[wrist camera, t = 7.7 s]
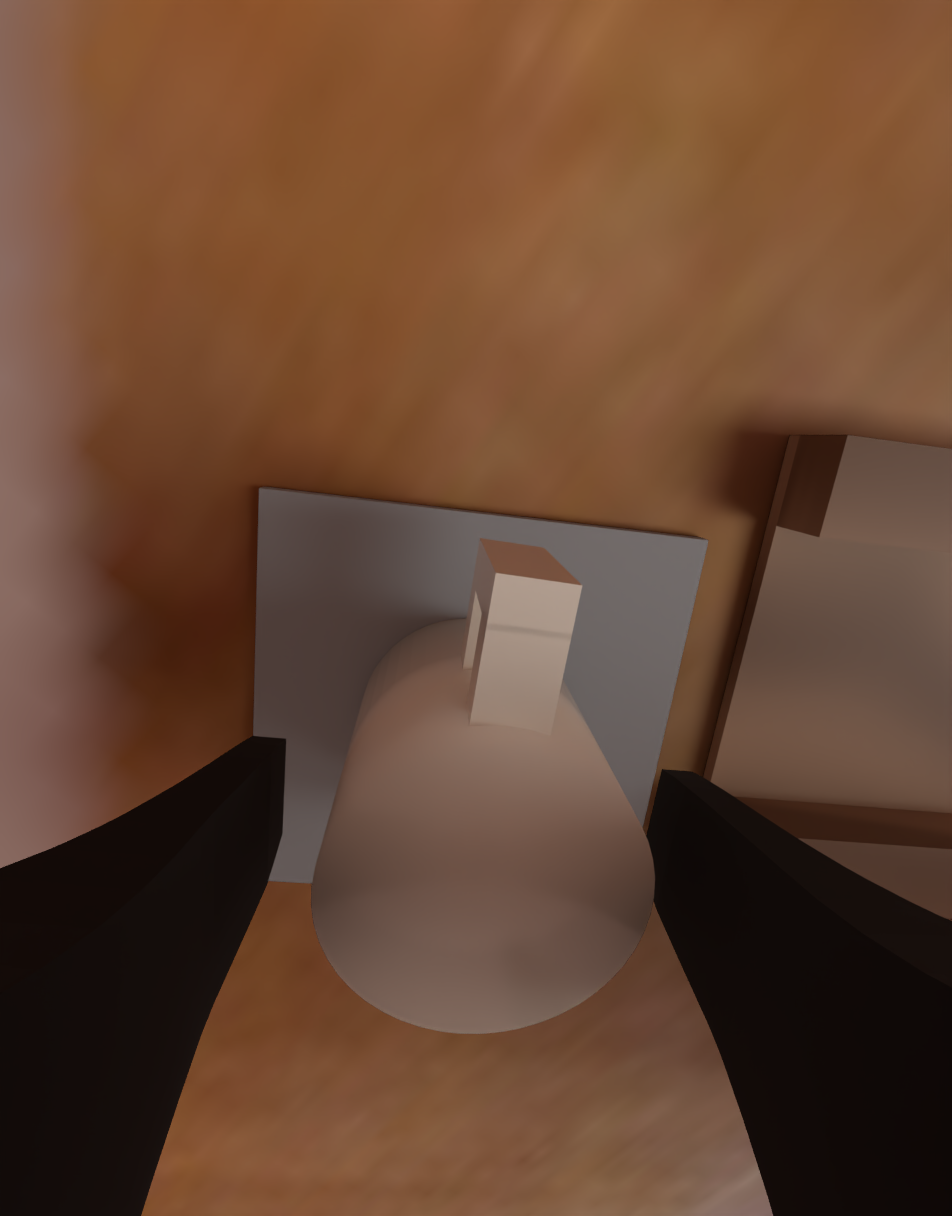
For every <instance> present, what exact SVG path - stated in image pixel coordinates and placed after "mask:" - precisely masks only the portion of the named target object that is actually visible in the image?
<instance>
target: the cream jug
mask: <svg viewBox="0 0 952 1216" xmlns="http://www.w3.org/2000/svg"><path fill="white" fill-rule="evenodd" d="M581 590H582V585H581V584H580V583H579V582H578V581H577V580H576V579H575V578H574V577H573V576H572V575H571V574H570V573H569V572H568V571H567V570H566V569H565V568H564V567H563V566H562V565H561V564H560V563H559V562H558V561H557V560H556V559H555V558H554V557H553V556H552V555H551V554H550V553H549V552H548V551H547V550H546V549H545V548H543V547H536V546H530V545H523V544H517V543H510V542H503V541H497V540H490V539H484V538H480V540H479V546H478V552H477V558H476V564H475V571H474V577H473V583H472V589H471V595H470V601H469V607H468V613H467V618H464V619H452V620H446V621H441V622H437V623H434V624H431V625H428V626H425V627H423V628H421V629H419V630H417V631H414V632H413V633H411V634H410V635H408V636H406V637H405V638H403V639H402V640H401V641H399V642H398V643H397V644H396V645H394V646H393V647H392V648H391V649H390V650H389V651H388V652H387V653H386V654H385V656H384V657H383V658H382V659H381V660H380V662H379V663H378V665H377V666H376V668H375V669H374V671H373V673H372V675H371V677H370V679H369V681H368V684H367V687H366V690H365V692H364V696H363V699H362V703H361V706H360V710H359V714H358V717H357V721H356V724H355V728H354V731H353V735H352V738H351V742H350V745H349V749H348V752H347V756H346V759H345V763H344V766H343V770H342V774H341V777H340V781H339V784H338V788H337V791H336V795H335V798H334V802H333V805H332V809H331V812H330V816H329V819H328V823H327V826H326V830H325V833H324V837H323V841H322V844H321V848H320V851H319V855H318V858H317V862H316V865H315V870H314V875H313V881H312V888H311V908H312V916H313V923H314V927H315V930H316V934H317V937H318V940H319V943H320V945H321V947H322V949H323V951H324V953H325V955H326V957H327V959H328V961H329V962H330V964H331V965H332V967H333V968H334V970H335V971H336V973H337V974H338V975H339V976H340V977H341V979H342V980H343V981H344V982H345V983H346V984H347V985H348V986H349V987H350V988H351V989H352V990H353V991H354V992H355V993H357V994H358V995H359V996H360V997H361V998H363V999H364V1000H365V1001H366V1002H368V1003H369V1004H371V1005H373V1006H374V1007H376V1008H377V1009H379V1010H380V1011H382V1012H384V1013H386V1014H388V1015H390V1016H392V1017H395V1018H397V1019H399V1020H401V1021H404V1022H407V1023H410V1024H413V1025H416V1026H419V1027H423V1028H427V1029H432V1030H436V1031H442V1032H450V1033H459V1034H484V1033H496V1032H504V1031H509V1030H514V1029H519V1028H524V1027H527V1026H530V1025H534V1024H537V1023H540V1022H543V1021H546V1020H548V1019H550V1018H553V1017H555V1016H558V1015H560V1014H562V1013H564V1012H566V1011H568V1010H570V1009H571V1008H573V1007H575V1006H577V1005H579V1004H580V1003H582V1002H583V1001H585V1000H586V999H588V998H589V997H590V996H592V995H593V994H595V993H596V992H597V991H598V990H600V989H601V988H602V987H603V986H604V985H605V984H606V983H608V982H609V981H610V980H611V979H612V978H613V977H614V976H615V975H616V973H617V972H618V971H619V970H620V969H621V968H622V967H623V966H624V964H625V963H626V962H627V960H628V959H629V957H630V956H631V955H632V953H633V952H634V950H635V949H636V947H637V945H638V943H639V941H640V939H641V937H642V935H643V933H644V931H645V928H646V926H647V923H648V920H649V917H650V914H651V909H652V904H653V900H654V889H655V873H654V863H653V857H652V853H651V850H650V846H649V842H648V840H647V837H646V835H645V833H644V831H643V828H642V826H641V824H640V822H639V820H638V818H637V816H636V814H635V813H634V811H633V809H632V807H631V805H630V803H629V801H628V800H627V798H626V796H625V794H624V792H623V790H622V788H621V786H620V785H619V783H618V781H617V779H616V777H615V775H614V773H613V772H612V770H611V768H610V766H609V764H608V762H607V760H606V758H605V757H604V755H603V753H602V751H601V749H600V747H599V745H598V743H597V742H596V740H595V738H594V736H593V734H592V732H591V730H590V729H589V727H588V725H587V723H586V721H585V719H584V717H583V715H582V714H581V712H580V710H579V708H578V706H577V704H576V702H575V701H574V699H573V697H572V695H571V693H570V691H569V689H568V687H567V686H566V684H565V682H564V680H563V674H564V670H565V665H566V660H567V656H568V651H569V646H570V642H571V637H572V632H573V627H574V623H575V618H576V613H577V609H578V604H579V599H580V594H581Z"/></svg>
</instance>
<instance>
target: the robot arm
mask: <svg viewBox="0 0 952 1216" xmlns="http://www.w3.org/2000/svg"><path fill="white" fill-rule="evenodd" d="M285 761H286V739H284V738H272V737H260V736H252V737H250V738H248V739H247V740H245V741H243V742H242V743H240V744H239V745H237V746H235V747H234V748H232V749H231V750H229V751H228V752H226V753H225V754H223V755H222V756H220V757H219V758H217V759H216V760H214V761H213V762H211V763H209V764H208V765H206V766H205V767H203V768H202V769H200V770H198V771H197V772H195V773H194V774H192V775H191V776H189V777H187V778H186V779H184V780H183V781H181V782H180V783H178V784H176V785H175V786H173V787H171V788H169V789H168V790H166V791H164V792H162V793H161V794H159V795H157V796H155V797H154V798H152V799H150V800H148V801H147V802H145V803H143V804H141V805H139V806H138V807H136V808H134V809H132V810H131V811H129V812H127V813H125V814H123V815H121V816H119V817H118V818H116V819H114V820H112V821H110V822H108V823H106V824H104V825H102V826H100V827H98V828H95V829H93V830H91V831H89V832H87V833H85V834H82V835H80V836H78V837H76V838H74V839H72V840H69V841H67V842H65V843H63V844H61V845H58V846H56V847H54V848H51V849H49V850H46V851H44V852H41V853H38V854H36V855H33V856H31V857H28V858H26V859H23V860H20V861H18V862H15V863H13V864H10V865H8V866H5V867H2V868H0V1216H141V1214H142V1211H143V1208H144V1205H145V1201H146V1198H147V1195H148V1192H149V1189H150V1186H151V1182H152V1179H153V1176H154V1173H155V1170H156V1167H157V1164H158V1161H159V1158H160V1155H161V1152H162V1149H163V1146H164V1143H165V1140H166V1137H167V1134H168V1131H169V1128H170V1125H171V1122H172V1119H173V1116H174V1113H175V1110H176V1107H177V1104H178V1101H179V1098H180V1095H181V1092H182V1089H183V1086H184V1083H185V1080H186V1077H187V1074H188V1072H189V1069H190V1066H191V1063H192V1060H193V1057H194V1054H195V1051H196V1048H197V1045H198V1043H199V1040H200V1037H201V1034H202V1031H203V1029H204V1026H205V1024H206V1021H207V1019H208V1017H209V1014H210V1012H211V1009H212V1007H213V1004H214V1002H215V1000H216V997H217V995H218V993H219V991H220V989H221V986H222V984H223V982H224V980H225V977H226V975H227V973H228V971H229V969H230V966H231V964H232V962H233V960H234V957H235V955H236V953H237V951H238V949H239V946H240V944H241V942H242V940H243V938H244V935H245V933H246V931H247V929H248V926H249V924H250V922H251V920H252V917H253V915H254V913H255V911H256V908H257V906H258V904H259V902H260V899H261V897H262V895H263V893H264V890H265V888H266V886H267V883H268V880H269V877H270V874H271V870H272V867H273V864H274V861H275V858H276V854H277V851H278V847H279V844H280V841H281V837H282V834H283V810H284V786H285ZM646 837H647V840H648V842H649V846H650V850H651V853H652V857H653V863H654V873H655V889H654V903H655V906H656V909H657V911H658V914H659V916H660V918H661V921H662V923H663V925H664V927H665V930H666V932H667V934H668V936H669V939H670V941H671V943H672V945H673V948H674V950H675V952H676V954H677V957H678V959H679V961H680V963H681V965H682V967H683V970H684V972H685V974H686V976H687V978H688V981H689V983H690V985H691V987H692V989H693V992H694V994H695V996H696V998H697V1000H698V1003H699V1005H700V1007H701V1009H702V1011H703V1014H704V1016H705V1018H706V1020H707V1022H708V1025H709V1027H710V1029H711V1032H712V1034H713V1037H714V1039H715V1042H716V1044H717V1047H718V1049H719V1052H720V1054H721V1057H722V1060H723V1062H724V1065H725V1068H726V1071H727V1074H728V1077H729V1080H730V1083H731V1086H732V1088H733V1091H734V1094H735V1097H736V1100H737V1103H738V1106H739V1109H740V1112H741V1114H742V1117H743V1120H744V1123H745V1127H746V1130H747V1133H748V1136H749V1139H750V1142H751V1145H752V1148H753V1152H754V1155H755V1158H756V1161H757V1164H758V1167H759V1170H760V1174H761V1177H762V1180H763V1183H764V1186H765V1189H766V1192H767V1195H768V1199H769V1202H770V1206H771V1209H772V1213H773V1216H952V921H950V920H948V919H946V918H944V917H941V916H939V915H937V914H935V913H933V912H931V911H929V910H927V909H924V908H922V907H920V906H918V905H916V904H914V903H912V902H910V901H908V900H906V899H904V898H902V897H900V896H898V895H897V894H895V893H893V892H891V891H889V890H887V889H885V888H883V887H881V886H879V885H877V884H875V883H873V882H871V881H870V880H868V879H866V878H864V877H862V876H860V875H859V874H857V873H855V872H853V871H851V870H850V869H848V868H846V867H844V866H843V865H841V864H839V863H838V862H836V861H834V860H833V859H831V858H829V857H828V856H826V855H824V854H823V853H821V852H819V851H818V850H816V849H814V848H813V847H811V846H809V845H808V844H806V843H804V842H803V841H801V840H800V839H798V838H796V837H795V836H793V835H792V834H790V833H789V832H787V831H786V830H784V829H782V828H781V827H779V826H778V825H776V824H775V823H773V822H772V821H770V820H769V819H767V818H766V817H764V816H763V815H761V814H759V813H758V812H756V811H755V810H753V809H752V808H750V807H749V806H747V805H746V804H744V803H743V802H741V801H740V800H738V799H737V798H735V797H734V796H732V795H731V794H729V793H728V792H726V791H725V790H723V789H721V788H720V787H718V786H717V785H715V784H713V783H712V782H710V781H708V780H707V779H705V778H703V777H701V776H699V775H698V774H696V773H694V772H689V771H676V770H664V769H662V771H661V776H660V780H659V784H658V789H657V793H656V797H655V802H654V806H653V810H652V815H651V819H650V823H649V828H648V832H647V836H646Z"/></svg>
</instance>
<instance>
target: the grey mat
mask: <svg viewBox="0 0 952 1216" xmlns="http://www.w3.org/2000/svg"><path fill="white" fill-rule="evenodd" d="M480 538H484V539H490V540H497V541H503V542H510V543H517V544H523V545H530V546H536V547H543V548H545V549H546V550H547V551H548V552H549V553H550V554H551V555H552V556H553V557H554V558H555V559H556V560H557V561H558V562H559V563H560V564H561V565H562V566H563V567H564V568H565V569H566V570H567V571H568V572H569V573H570V574H571V575H572V576H573V577H574V578H575V579H576V580H577V581H578V582H579V583H580V584H581V585H582V590H581V594H580V599H579V604H578V609H577V613H576V618H575V623H574V627H573V632H572V637H571V642H570V646H569V651H568V656H567V660H566V665H565V670H564V674H563V680H564V682H565V684H566V686H567V687H568V689H569V691H570V693H571V695H572V697H573V699H574V701H575V702H576V704H577V706H578V708H579V710H580V712H581V714H582V715H583V717H584V719H585V721H586V723H587V725H588V727H589V729H590V730H591V732H592V734H593V736H594V738H595V740H596V742H597V743H598V745H599V747H600V749H601V751H602V753H603V755H604V757H605V758H606V760H607V762H608V764H609V766H610V768H611V770H612V772H613V773H614V775H615V777H616V779H617V781H618V783H619V785H620V786H621V788H622V790H623V792H624V794H625V796H626V798H627V800H628V801H629V803H630V805H631V807H632V809H633V811H634V813H635V814H636V816H637V818H638V820H639V822H640V824H641V826H642V828H643V825H644V820H645V816H646V811H647V807H648V803H649V798H650V794H651V790H652V785H653V781H654V777H655V772H656V768H657V763H658V759H659V755H660V750H661V746H662V742H663V737H664V733H665V728H666V724H667V720H668V715H669V711H670V707H671V702H672V698H673V693H674V689H675V685H676V680H677V676H678V672H679V667H680V663H681V658H682V654H683V650H684V645H685V641H686V637H687V632H688V628H689V623H690V619H691V615H692V610H693V606H694V602H695V597H696V593H697V588H698V584H699V580H700V575H701V571H702V567H703V562H704V558H705V553H706V549H707V545H708V540H706V539H704V538H701V537H693V536H684V535H676V534H667V533H659V532H650V531H641V530H633V529H624V528H616V527H607V526H599V525H590V524H581V523H573V522H564V521H556V520H547V519H539V518H530V517H521V516H513V515H504V514H496V513H487V512H478V511H470V510H461V509H453V508H444V507H436V506H427V505H418V504H410V503H401V502H393V501H384V500H375V499H367V498H358V497H350V496H341V495H333V494H324V493H315V492H307V491H298V490H290V489H281V488H272V487H261V488H259V510H258V552H257V593H256V635H255V677H254V719H253V736H260V737H272V738H284V739H286V761H285V786H284V810H283V834H282V837H281V841H280V844H279V847H278V851H277V854H276V858H275V861H274V864H273V867H272V870H271V874H270V877H269V880H268V881H279V882H295V883H312V881H313V875H314V870H315V865H316V862H317V858H318V855H319V851H320V848H321V844H322V841H323V837H324V833H325V830H326V826H327V823H328V819H329V816H330V812H331V809H332V805H333V802H334V798H335V795H336V791H337V788H338V784H339V781H340V777H341V774H342V770H343V766H344V763H345V759H346V756H347V752H348V749H349V745H350V742H351V738H352V735H353V731H354V728H355V724H356V721H357V717H358V714H359V710H360V706H361V703H362V699H363V696H364V692H365V690H366V687H367V684H368V681H369V679H370V677H371V675H372V673H373V671H374V669H375V668H376V666H377V665H378V663H379V662H380V660H381V659H382V658H383V657H384V656H385V654H386V653H387V652H388V651H389V650H390V649H391V648H392V647H393V646H394V645H396V644H397V643H398V642H399V641H401V640H402V639H403V638H405V637H406V636H408V635H410V634H411V633H413V632H414V631H417V630H419V629H421V628H423V627H425V626H428V625H431V624H434V623H437V622H441V621H446V620H452V619H464V618H467V613H468V607H469V601H470V595H471V589H472V583H473V577H474V571H475V564H476V558H477V552H478V546H479V540H480Z"/></svg>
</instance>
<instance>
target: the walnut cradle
mask: <svg viewBox="0 0 952 1216" xmlns="http://www.w3.org/2000/svg"><path fill="white" fill-rule="evenodd" d="M703 778H705V779H707V780H708V781H710V782H712V783H713V784H715V785H717V786H718V787H720V788H721V789H723V790H725V791H726V792H728V793H729V794H731V795H732V796H734V797H735V798H737V799H738V800H740V801H741V802H743V803H744V804H746V805H747V806H749V807H750V808H752V809H753V810H755V811H756V812H758V813H759V814H761V815H763V816H764V817H766V818H767V819H769V820H770V821H772V822H773V823H775V824H776V825H778V826H779V827H781V828H782V829H784V830H786V831H787V832H789V833H790V834H792V835H793V836H795V837H796V838H798V839H800V840H801V841H803V842H804V843H806V844H808V845H809V846H811V847H813V848H814V849H816V850H818V851H819V852H821V853H823V854H824V855H826V856H828V857H829V858H831V859H833V860H834V861H836V862H838V863H839V864H841V865H843V866H844V867H846V868H848V869H850V870H851V871H853V872H855V873H857V874H859V875H860V876H862V877H864V878H866V879H868V880H870V881H871V882H873V883H875V884H877V885H879V886H881V887H883V888H885V889H887V890H889V891H891V892H893V893H895V894H897V895H898V896H900V897H902V898H904V899H906V900H908V901H910V902H912V903H914V904H916V905H918V906H920V907H922V908H924V909H927V910H929V911H931V912H933V913H935V914H937V915H939V916H941V917H944V918H947V919H952V449H948V448H941V447H933V446H926V445H918V444H911V443H904V442H896V441H889V440H881V439H874V438H867V437H859V436H852V435H790V436H789V440H788V444H787V448H786V452H785V456H784V460H783V464H782V468H781V472H780V476H779V480H778V484H777V487H776V491H775V495H774V499H773V503H772V507H771V511H770V515H769V519H768V523H767V527H766V531H765V535H764V539H763V543H762V547H761V551H760V555H759V559H758V562H757V566H756V570H755V574H754V578H753V582H752V586H751V590H750V594H749V598H748V602H747V606H746V610H745V614H744V618H743V622H742V626H741V630H740V633H739V637H738V641H737V645H736V649H735V653H734V657H733V661H732V665H731V669H730V673H729V677H728V681H727V685H726V689H725V693H724V697H723V701H722V704H721V708H720V712H719V716H718V720H717V724H716V728H715V732H714V736H713V740H712V744H711V748H710V752H709V756H708V760H707V764H706V768H705V772H704V776H703Z"/></svg>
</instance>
